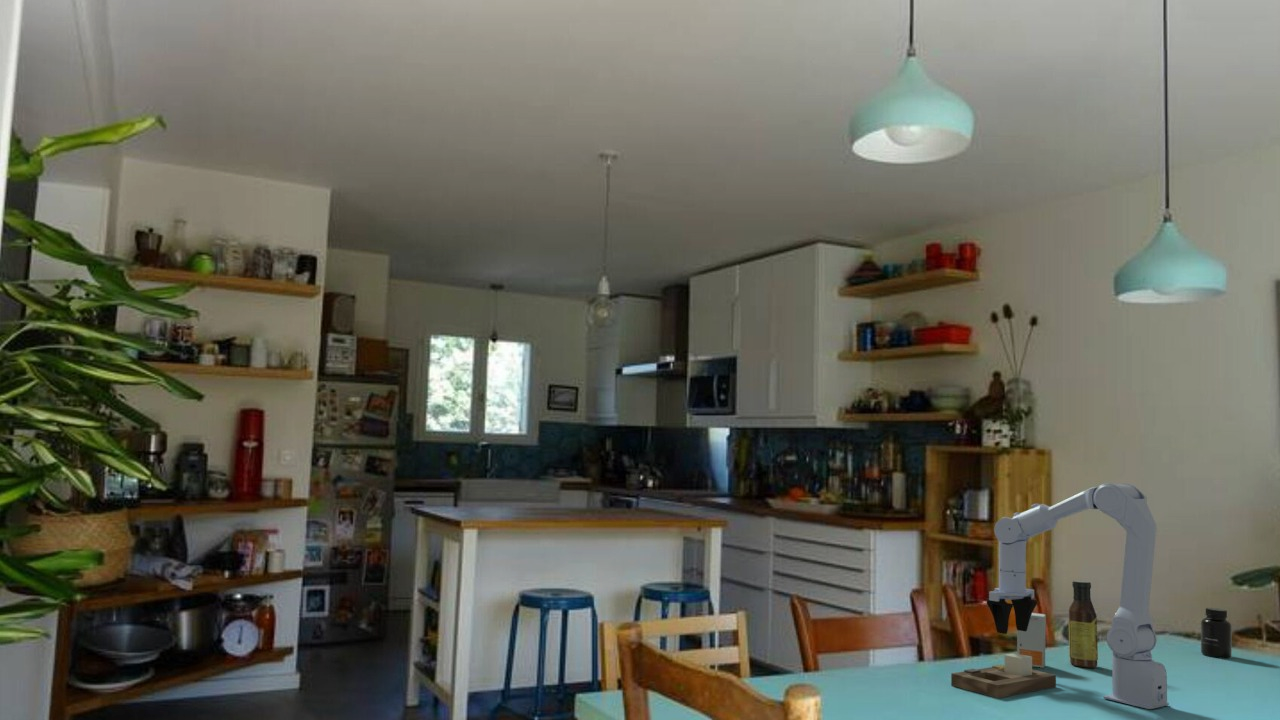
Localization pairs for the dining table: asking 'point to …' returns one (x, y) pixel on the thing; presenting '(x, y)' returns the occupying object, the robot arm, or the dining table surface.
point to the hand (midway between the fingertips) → (1011, 631)
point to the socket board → (1002, 682)
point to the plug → (1018, 664)
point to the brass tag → (999, 666)
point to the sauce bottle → (1082, 627)
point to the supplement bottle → (1216, 634)
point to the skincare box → (1033, 640)
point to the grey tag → (972, 671)
